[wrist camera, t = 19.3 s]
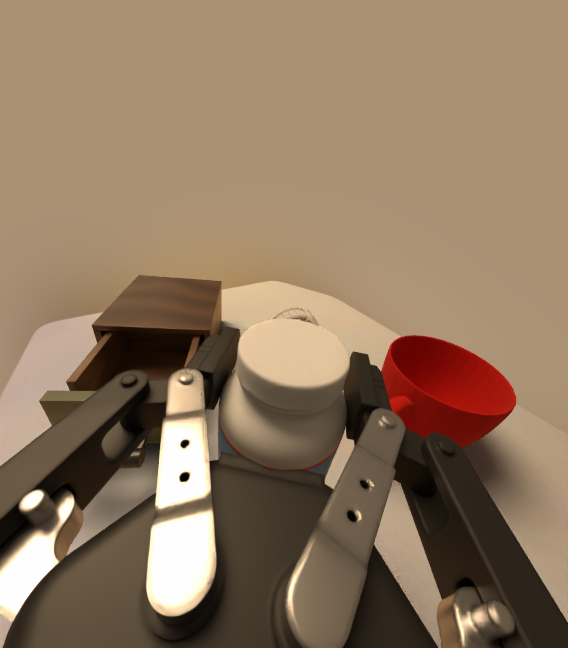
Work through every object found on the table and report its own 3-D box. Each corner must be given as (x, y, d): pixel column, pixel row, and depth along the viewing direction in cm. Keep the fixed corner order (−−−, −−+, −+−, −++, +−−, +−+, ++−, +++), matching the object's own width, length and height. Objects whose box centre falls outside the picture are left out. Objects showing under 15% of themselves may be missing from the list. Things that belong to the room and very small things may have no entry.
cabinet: (211, 377, 37) (210, 330, 33) (107, 375, 35) (91, 325, 31) (221, 320, 50) (221, 281, 46) (145, 316, 48) (138, 275, 44)
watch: (319, 384, 39) (336, 321, 33) (267, 392, 36) (276, 325, 30) (305, 359, 43) (318, 300, 37) (258, 365, 40) (264, 302, 35)
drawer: (183, 489, 24) (177, 448, 20) (28, 497, 22) (-7, 453, 18) (210, 354, 40) (209, 319, 36) (122, 352, 38) (113, 315, 34)
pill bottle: (200, 532, 14) (187, 381, 8) (236, 435, 19) (244, 300, 13) (310, 562, 14) (378, 424, 8) (317, 454, 19) (361, 324, 13)
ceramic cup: (322, 418, 33) (341, 358, 28) (401, 378, 42) (426, 326, 37) (410, 520, 25) (461, 461, 19) (486, 442, 33) (535, 387, 28)
